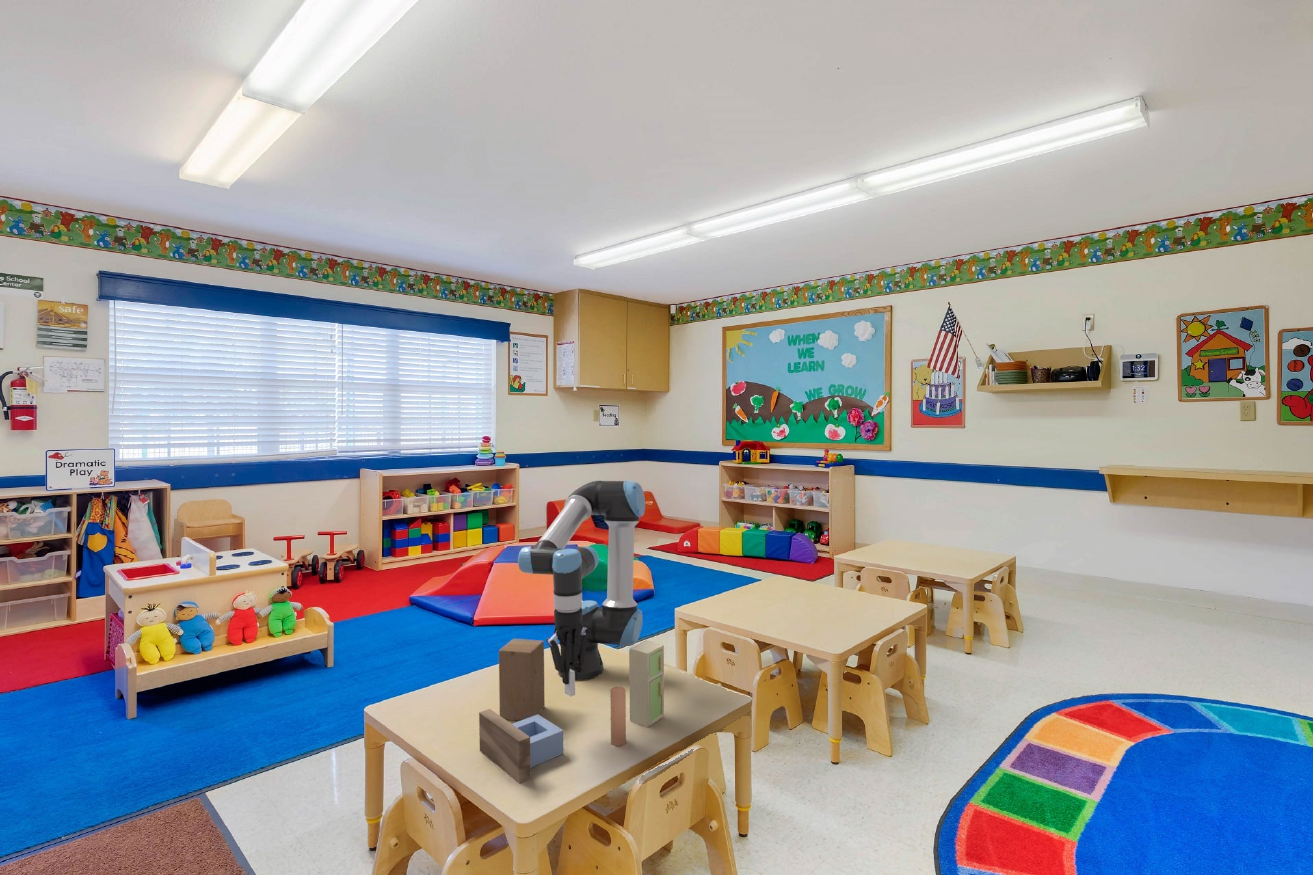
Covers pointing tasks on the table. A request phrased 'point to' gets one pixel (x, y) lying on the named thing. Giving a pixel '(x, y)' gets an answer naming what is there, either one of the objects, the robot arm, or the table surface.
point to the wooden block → (521, 679)
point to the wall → (505, 745)
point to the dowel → (618, 716)
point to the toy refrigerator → (646, 683)
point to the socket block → (541, 738)
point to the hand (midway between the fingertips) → (570, 693)
